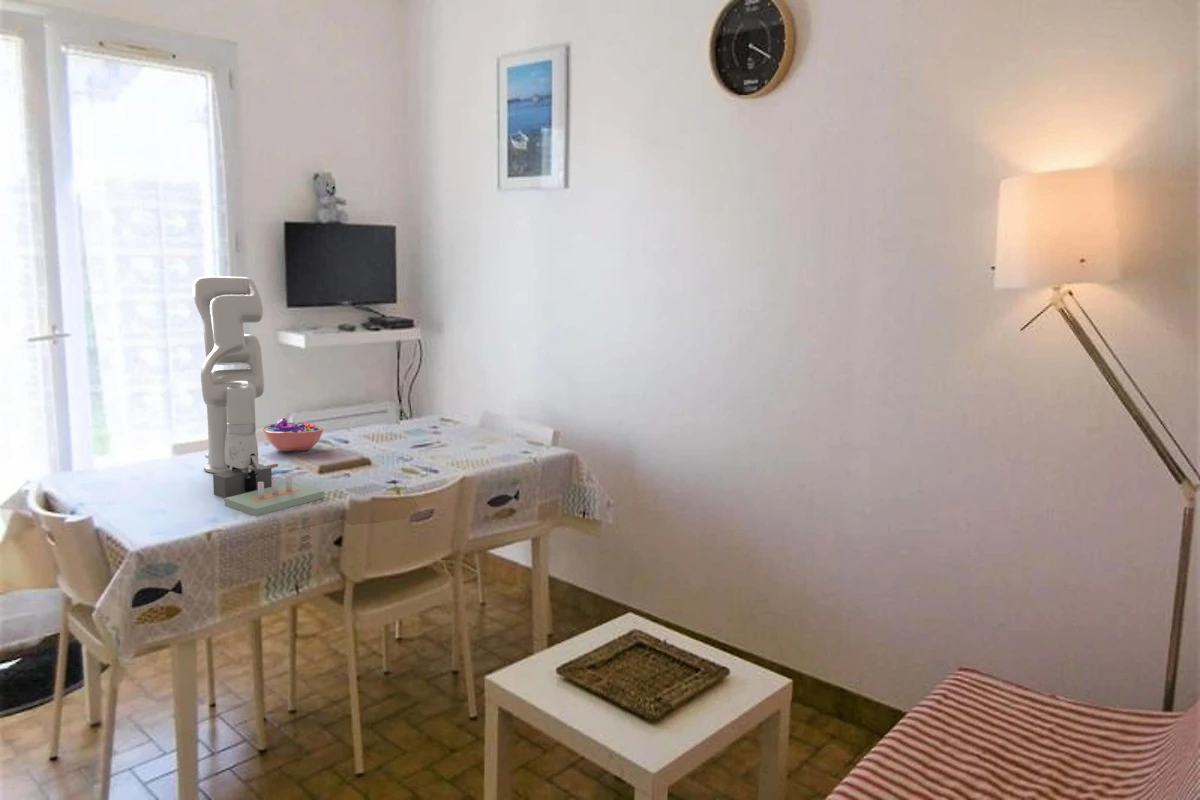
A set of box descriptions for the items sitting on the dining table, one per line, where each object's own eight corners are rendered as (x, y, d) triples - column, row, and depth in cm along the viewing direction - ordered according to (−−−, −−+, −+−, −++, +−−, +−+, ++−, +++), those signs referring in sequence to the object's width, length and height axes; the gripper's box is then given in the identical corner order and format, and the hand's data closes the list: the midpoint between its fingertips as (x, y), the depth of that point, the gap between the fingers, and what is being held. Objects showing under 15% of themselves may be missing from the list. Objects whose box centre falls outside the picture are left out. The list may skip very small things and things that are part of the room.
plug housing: (213, 494, 243) (213, 474, 242) (271, 480, 258) (271, 461, 257) (225, 498, 240) (224, 477, 238) (283, 484, 255) (282, 464, 254)
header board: (224, 505, 234) (224, 482, 233) (292, 488, 252) (292, 466, 251) (256, 516, 226) (255, 492, 225) (323, 497, 244) (323, 475, 243)
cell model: (313, 458, 285) (313, 425, 283) (254, 455, 285) (253, 422, 283) (330, 446, 302) (329, 415, 300) (274, 443, 302) (273, 412, 300)
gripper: (211, 425, 245) (213, 485, 249) (248, 435, 236) (249, 497, 239) (235, 421, 252) (237, 479, 255) (271, 431, 242) (273, 491, 246)
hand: (243, 487), depth 247 cm, fingers open, 6 cm apart
